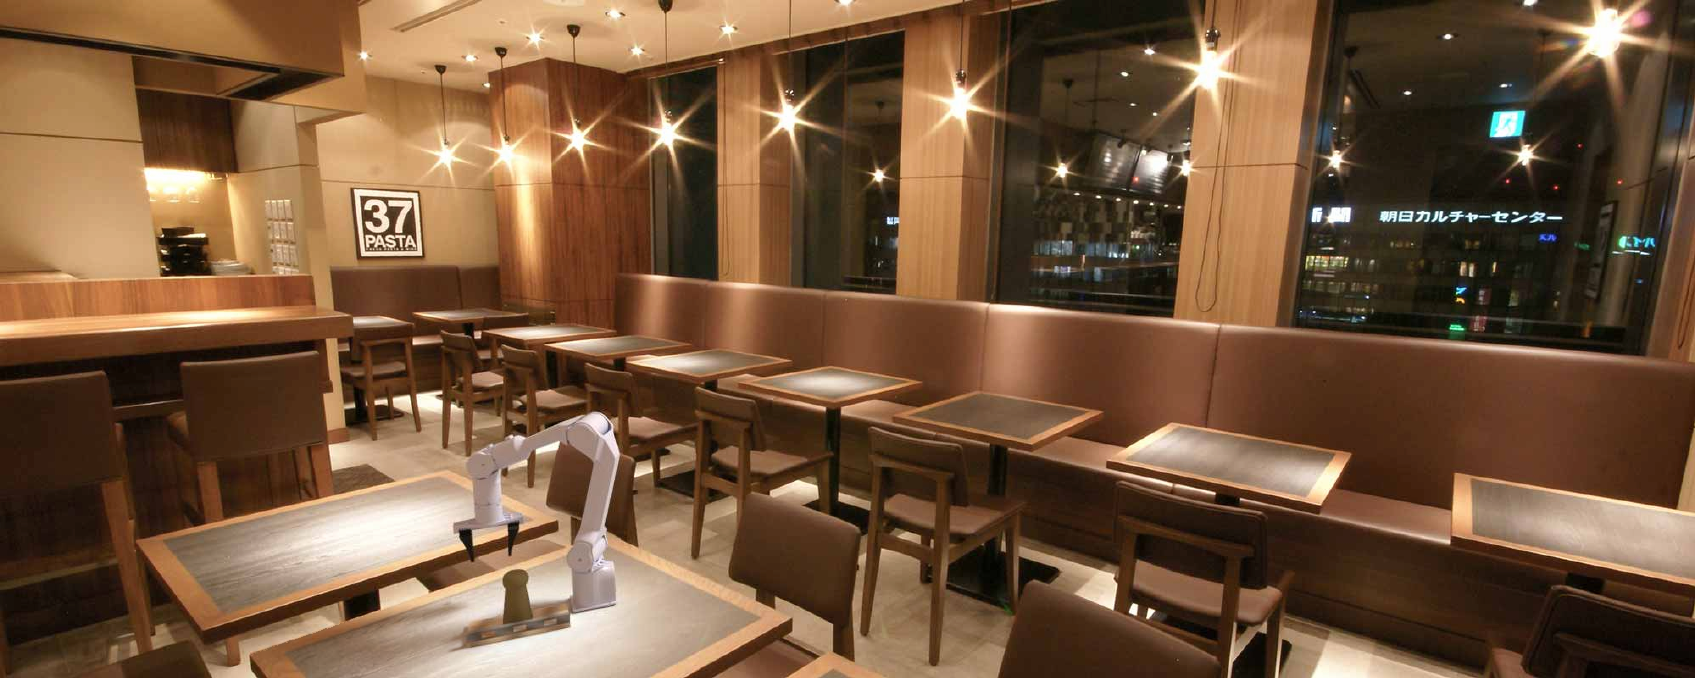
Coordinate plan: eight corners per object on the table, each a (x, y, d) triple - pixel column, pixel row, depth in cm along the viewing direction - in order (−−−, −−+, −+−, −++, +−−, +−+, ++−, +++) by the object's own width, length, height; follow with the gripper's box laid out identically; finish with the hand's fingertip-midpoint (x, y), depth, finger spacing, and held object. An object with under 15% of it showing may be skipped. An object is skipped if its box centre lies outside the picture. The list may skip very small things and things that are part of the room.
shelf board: (567, 607, 169) (566, 595, 169) (570, 626, 161) (570, 614, 161) (468, 626, 161) (467, 613, 160) (467, 648, 153) (466, 634, 152)
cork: (496, 624, 160) (493, 576, 158) (514, 610, 166) (511, 564, 164) (521, 628, 159) (518, 579, 157) (538, 613, 165) (536, 567, 163)
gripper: (522, 490, 175) (525, 545, 177) (452, 499, 169) (456, 555, 171) (523, 500, 169) (526, 557, 171) (451, 510, 163) (455, 568, 165)
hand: (491, 557), depth 171 cm, fingers open, 7 cm apart
